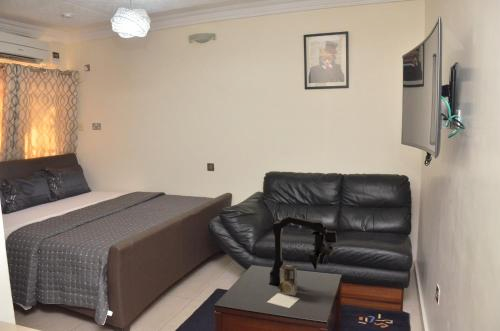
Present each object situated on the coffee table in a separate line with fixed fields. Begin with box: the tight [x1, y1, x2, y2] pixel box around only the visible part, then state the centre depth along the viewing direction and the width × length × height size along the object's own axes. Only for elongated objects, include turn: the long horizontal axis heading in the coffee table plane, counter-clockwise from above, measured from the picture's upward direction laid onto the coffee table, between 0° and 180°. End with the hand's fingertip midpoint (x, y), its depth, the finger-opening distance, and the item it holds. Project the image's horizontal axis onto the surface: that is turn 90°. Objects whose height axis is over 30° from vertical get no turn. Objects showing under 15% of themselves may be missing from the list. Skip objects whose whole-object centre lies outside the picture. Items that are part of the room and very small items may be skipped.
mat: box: [266, 292, 300, 309], centre depth 223 cm, size 14×14×1 cm
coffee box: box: [279, 264, 298, 297], centre depth 232 cm, size 9×6×16 cm
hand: (318, 266), depth 239 cm, fingers open, 9 cm apart
